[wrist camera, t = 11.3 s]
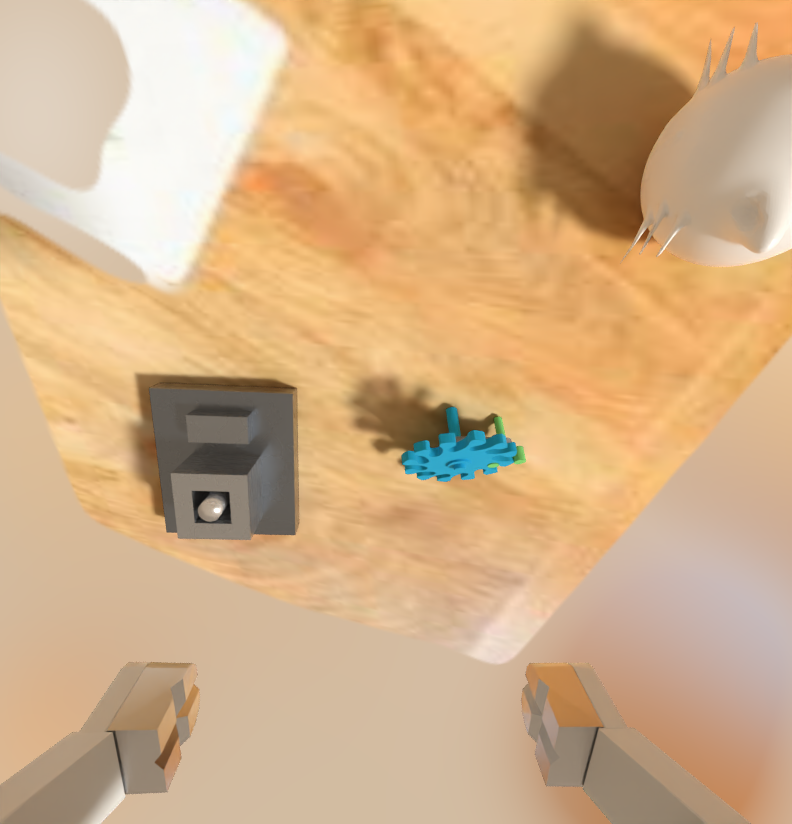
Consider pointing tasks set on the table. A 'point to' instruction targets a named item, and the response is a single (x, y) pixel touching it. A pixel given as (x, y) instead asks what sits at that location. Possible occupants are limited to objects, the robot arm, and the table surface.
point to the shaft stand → (231, 443)
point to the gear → (462, 453)
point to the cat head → (725, 167)
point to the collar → (218, 475)
